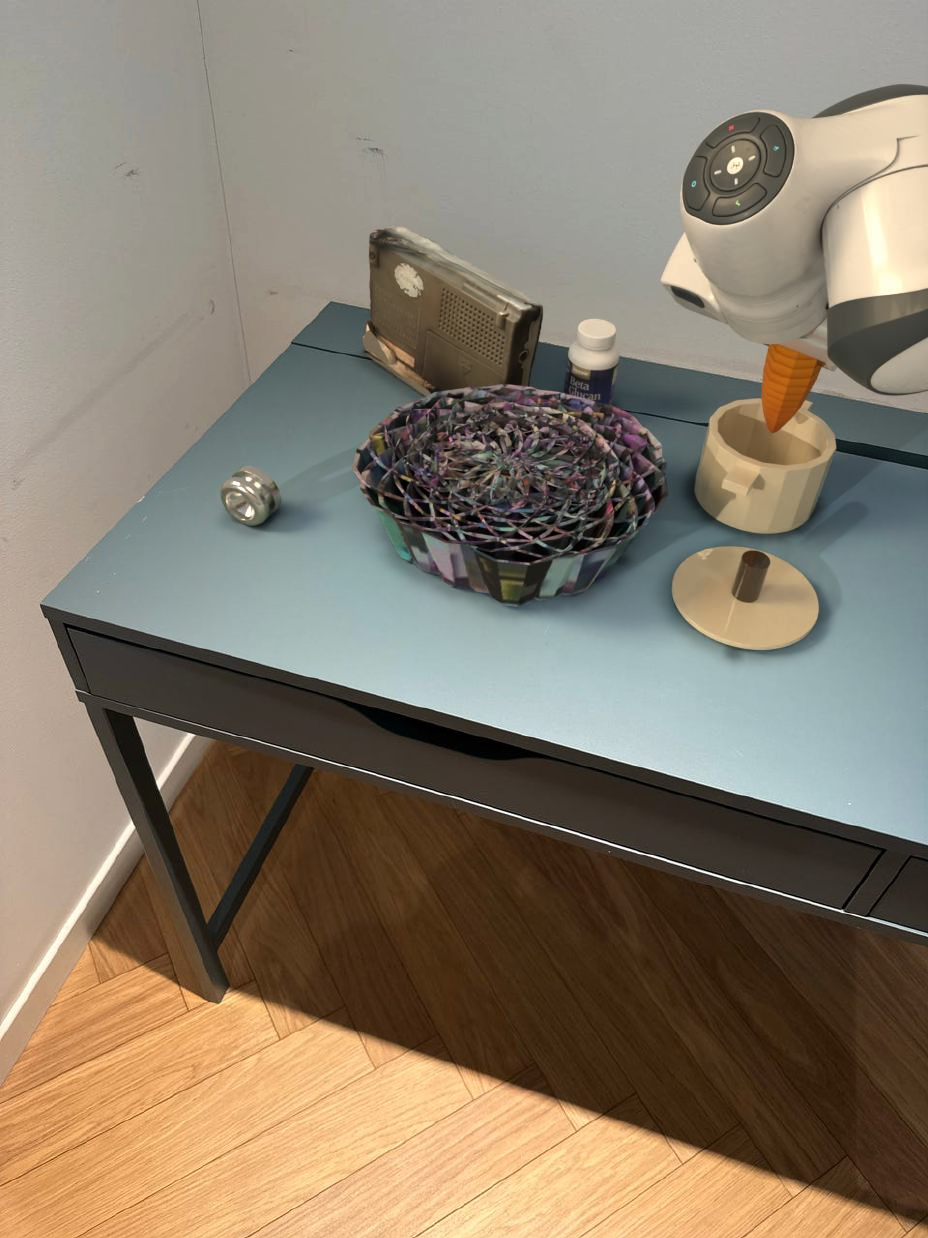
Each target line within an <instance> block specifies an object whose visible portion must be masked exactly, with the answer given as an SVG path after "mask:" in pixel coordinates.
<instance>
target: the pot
mask: <svg viewBox="0 0 928 1238" xmlns="http://www.w3.org/2000/svg"><path fill="white" fill-rule="evenodd" d="M812 406H813V402H812V401H808V400H805V401H804V403H803V405H802V406H801V408H800V409H799V410H798V411H797V413H796V414H795V415H794V416H793V417H792V419H791V420H789V421H788V422H787V423H786V424H785V425H784V426H783V427H782V428H781V429H780V430H779V431H778V432H775V433H771V432H770V431H769V430H768V428H767V425H766V421H765V417H764V414H763V407H762V397H761V398H758V397H757V398H746V399H737V400H733V401H731V402H729V403H727V404H724V405H721V406H720V407H718V408H717V410H716V411H714V413H713V414H712V415H711V416H710V418H709V421H708V425H707V428H706V433H705V436H704V441H703V444H702V445H703V446H702V449H701V453H700V457H699V462H698V466H697V471H696V474H695V482H694V494H695V498H696V501H697V502H698V503H699V505H700V506H701V508H702V509H703V510H704V511H705V512H706V513H707V514H709V516H711V517H712V518H713V519H715V520H716V521H719V522H720V523H722V524H724V525H727V526H728V527H731V528H734V529H737V530H740V531H744V532H748V533H753V534H761V535H762V534H766V535H767V534H770V535H771V534H781V533H786V532H790V531H793V530H795V529H797V528H799V527H801V526H803V525H804V524H805V523H806V522H807V521H808V520H809V519H810V518H811V516H812V514H813V513H814V510H815V508H816V506H817V504H818V501H819V498H820V495H821V492H822V490H823V487H824V484H825V481H826V480H827V479H826V478H827V476H828V473H829V470H830V467H831V465H832V462H833V460H834V457H835V453H836V450H837V440H836V434H835V432H834V431H833V430H832V429H831V427H829V425H828V424H827V423H826V422H825V420H824V419H822V418H821V417H819V416H818V415H816V414H814V413H813V412H811V410H812Z"/></svg>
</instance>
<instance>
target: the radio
mask: <svg viewBox="0 0 928 1238" xmlns="http://www.w3.org/2000/svg"><path fill="white" fill-rule="evenodd" d="M368 244H369V245H368V262H369V263H368V264H369V283H368V288H369V300H370V302H369V308H370V309H369V310H370V312H369V313H370V315H369V317H370V320H369V319H367V320H366V324H365V329H364V334H363V336H362V345H363V347H364V349H365V350H363V352H362V353H363V354H364V355H365V356H367V357H368V358H370V359H371V360H372V361H374V362H376V363H377V364H378V365H380V366H381V367H382V368H384V369H385V370H387V371H389V372H390V373H391V374H393V375H394V376H396V377H397V378H398V379H400V380H401V381H403V382H404V383H406V384H407V385H408V386H410V387H411V388H412V389H414V390H416V391H417V392H419V393H420V394H421V395H423V396H424V397H427V396H429V395H430V394H432V393H434V392H441V391H448V390H455V389H461V388H467V387H488V386H494V385H500V384H508V385H517V386H527V387H530V383H531V377H532V371H533V367H534V363H535V359H536V354H537V350H538V345H539V342H540V335H541V332H542V331H541V330H542V325H543V320H544V306H543V304H541V303H540V302H538V301H536V300H534V299H532V298H531V297H529V296H528V295H527V294H526V293H524V292H522V291H521V290H518V289H517V288H515V287H514V286H512V285H509V284H508V283H507V282H505V281H502V280H501V279H500V278H497V277H495V276H494V275H492V274H491V273H489V272H486V271H485V270H483V269H482V268H480V267H478V266H475V265H473V264H472V263H471V262H470V261H468V260H464V259H462V258H460V257H458V256H456V255H455V254H453V253H451V252H450V251H449V250H447V249H445V248H444V247H443V246H442V245H440V244H439V243H437V242H435V241H434V240H432V239H429V238H426V237H425V236H422V235H420V234H417V233H415V232H413V231H412V230H410V229H409V228H407V227H406V226H403V225H392V226H389V227H384V228H382V229H381V228H380V229H375V230H373V231H371V233H370V234H369V240H368Z"/></svg>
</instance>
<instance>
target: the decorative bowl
mask: <svg viewBox="0 0 928 1238" xmlns="http://www.w3.org/2000/svg"><path fill="white" fill-rule="evenodd" d="M667 464H668V463H667V461H665V459H664V458H663V445H662V443H661V442H660V441H659V440H658V439H657V438H656V437H655V436H654V435H653V434H652V432H651V431H650V430H649V429H648V428H646V427H644V426H643V425H642V424H641V423H640V422H639V420H638V419H637V418H636V417H635V416H634V414H632V413H630V412H627V411H625V410H623V409H621V408H619V407H616V406H615V405H612V406H611V405H607V404H603V403H599V402H595V401H593V400H589V399H585V398H581V397H577V396H573V395H569V394H565V393H563V392H560V391H552V390H545V389H544V390H543V389H538V388H535V387H533V386H529V387H527V386H517V385H508V384H500V385H494V386H488V387H467V388H461V389H455V390H448V391H441V392H434V393H432V394H430V395H429V396H427V397H426V396H424V397H423V398H420V399H416V400H414V401H411V402H409V403H406V404H404V405H400V406H398V407H396V408H395V409H394V410H393V411H392V412H391V413H390V414H389V415H388V416H386V417H385V418H384V419H383V420H381V421H380V422H378V424H376V425H375V426H373V428H371V429H370V430H369V433H368V437H367V439H366V440H365V441H364V442H363V443H362V444H361V445H359V446H358V447H357V448H356V449H355V455H354V459H353V462H352V467H351V468H352V471H353V472H354V474H355V475H356V476H357V478H358V479H359V481H360V483H359V484H360V486H359V490H360V491H361V493H362V494H363V496H364V497H365V498H366V499H367V501H368V503H369V504H370V505H371V507H372V508H373V509H374V511H375V512H376V514H377V516H378V519H379V521H380V522H381V524H382V526H383V527H384V530H385V531H386V534H387V535H388V537H389V539H390V542H391V543H392V545H393V547H394V549H395V551H396V553H397V554H398V556H399V557H400V558H401V560H404V561H407V562H410V563H414V565H416V567H417V568H418V569H419V570H420V571H423V572H428V573H431V574H435V575H439V576H440V577H441V579H442V580H443V582H444V583H446V584H448V585H451V586H453V587H455V588H460V589H468V588H472V589H473V591H474V592H477V593H482V594H489V595H490V597H491V598H492V599H493V600H495V601H497V602H498V603H499V604H500V605H503V606H506V607H514V608H515V607H517V608H518V607H520V606H522V605H525V604H527V603H528V602H531V601H532V600H536V601H538V602H539V601H546V600H547V601H548V600H549V599H550V600H551V599H554V598H557V597H560V596H569V597H575V596H577V595H579V594H580V593H581V594H582V593H583V592H585V591H587V590H589V588H590V587H591V585H592V584H593V583H596V582H598V581H600V580H602V579H604V578H605V577H606V576H607V575H608V573H609V572H610V570H611V569H612V568H613V566H614V565H615V563H617V562H618V561H619V560H620V558H621V557H622V556H623V554H624V553H625V552H626V550H627V549H628V548H629V546H630V545H631V544H632V542H633V541H634V539H635V538H636V536H637V535H638V533H639V532H640V531H641V529H644V528H646V527H647V526H648V524H649V522H650V521H651V518H652V517H653V515H654V514H656V513H657V511H658V510H659V509H660V508H661V506H662V505H663V504H664V502H666V500H667V499H668V498H669V496H670V495H669V488H668V482H667V478H666V471H667Z"/></svg>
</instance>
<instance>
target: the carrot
mask: <svg viewBox="0 0 928 1238" xmlns="http://www.w3.org/2000/svg"><path fill="white" fill-rule="evenodd" d="M821 370H822V367H821V366H818V363H817V361H816V359H815V358H813V357H810V356H807V355H805V354H802V353H800V352H797V351H794V350H792V349H789V348H787V347H784V346H781V345H779V344H769V346H767V351H766V356H765V360H764V365H763V371H762V381H761V383H762V384H761V399H762V407H763V414H764V417H765V421H766V425H767V428H768V430H769V431H770V432H771V433H775V432H778V431H779V430H780V429H781V428H782V427H783V426H784V425H785V424H786V423H787V422H788V421H789V420H791V419H792V417H793V416H794V415H795V414H796V413H797V411H798V410H799V409H800V408H801V406H802V405H803V403H804V401H805V400H806V399H807V398H808V396H809V394H810V393H811V391H812V389H813V387H814V385H815V383H816V381H817V380H818V377H819V375H820V372H821ZM806 401H807V400H806Z"/></svg>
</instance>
